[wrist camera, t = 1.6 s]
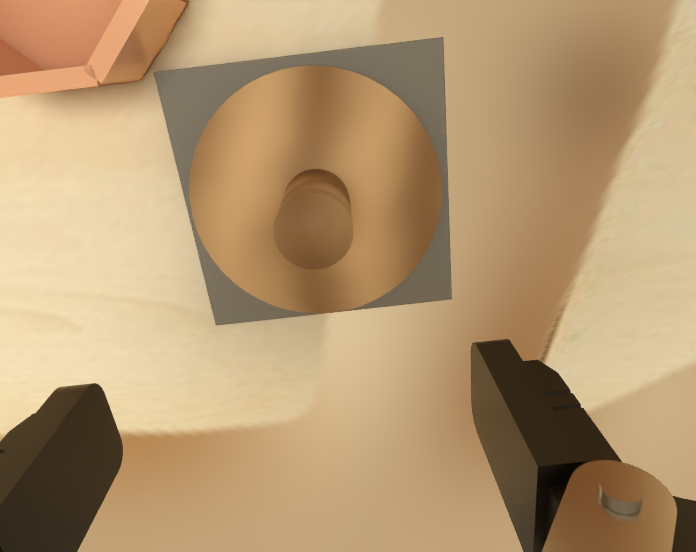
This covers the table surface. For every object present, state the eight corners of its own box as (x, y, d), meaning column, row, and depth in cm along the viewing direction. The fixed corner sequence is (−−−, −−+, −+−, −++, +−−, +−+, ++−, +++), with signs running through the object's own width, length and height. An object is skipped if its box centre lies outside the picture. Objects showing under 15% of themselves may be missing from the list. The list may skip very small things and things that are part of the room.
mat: (440, 37, 25) (443, 37, 24) (449, 294, 30) (451, 299, 30) (157, 71, 25) (153, 72, 24) (218, 320, 30) (216, 325, 30)
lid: (433, 49, 24) (462, 47, 19) (442, 292, 29) (468, 346, 24) (166, 82, 25) (118, 89, 19) (222, 317, 30) (197, 376, 24)
